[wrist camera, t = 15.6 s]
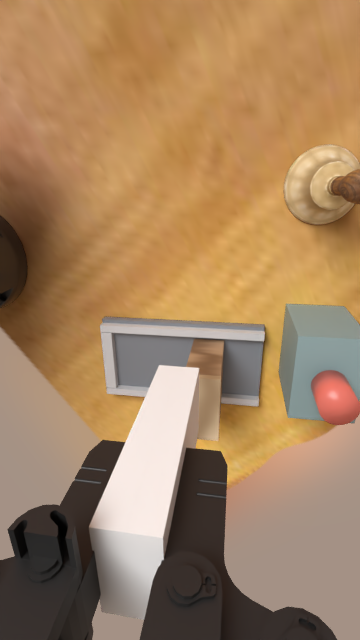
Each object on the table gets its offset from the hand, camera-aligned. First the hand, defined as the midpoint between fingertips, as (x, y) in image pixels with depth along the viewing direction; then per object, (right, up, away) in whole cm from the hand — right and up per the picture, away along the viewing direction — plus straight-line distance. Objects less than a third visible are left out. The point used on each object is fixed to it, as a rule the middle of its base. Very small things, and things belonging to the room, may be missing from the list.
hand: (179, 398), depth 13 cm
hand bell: (+16, +18, +26) cm, 35 cm away
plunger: (+15, -4, +23) cm, 28 cm away
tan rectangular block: (+4, -3, +35) cm, 35 cm away
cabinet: (+17, 0, +32) cm, 37 cm away
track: (0, -3, +36) cm, 36 cm away
